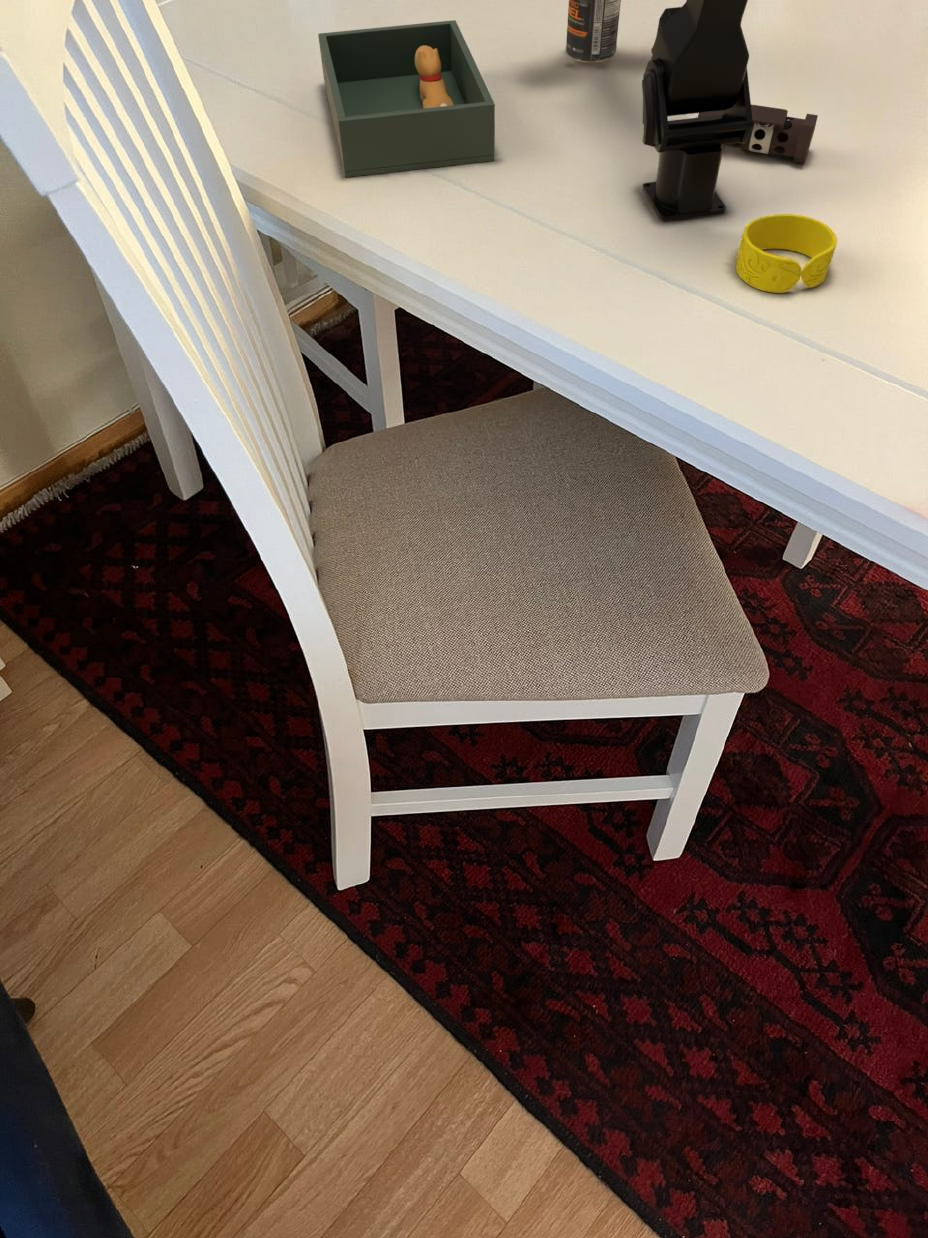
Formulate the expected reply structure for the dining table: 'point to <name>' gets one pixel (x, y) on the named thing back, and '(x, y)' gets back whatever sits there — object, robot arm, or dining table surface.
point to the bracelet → (786, 235)
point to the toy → (431, 78)
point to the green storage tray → (404, 100)
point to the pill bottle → (592, 29)
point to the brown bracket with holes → (776, 132)
